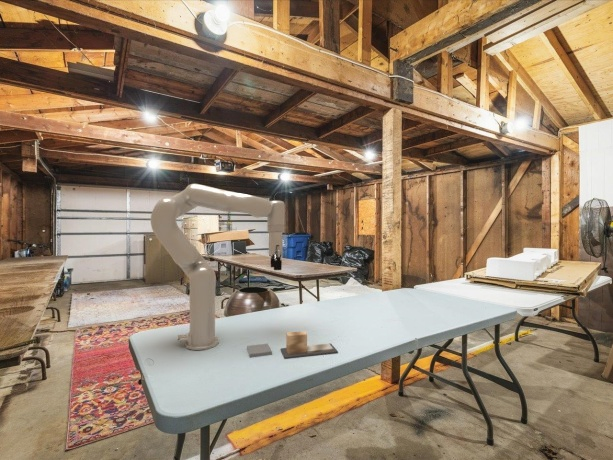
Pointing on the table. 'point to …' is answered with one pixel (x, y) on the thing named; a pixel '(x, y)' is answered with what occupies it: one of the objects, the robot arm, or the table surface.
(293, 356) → the mat
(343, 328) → the table surface
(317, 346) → the tan stepped block piece
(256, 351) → the tile
